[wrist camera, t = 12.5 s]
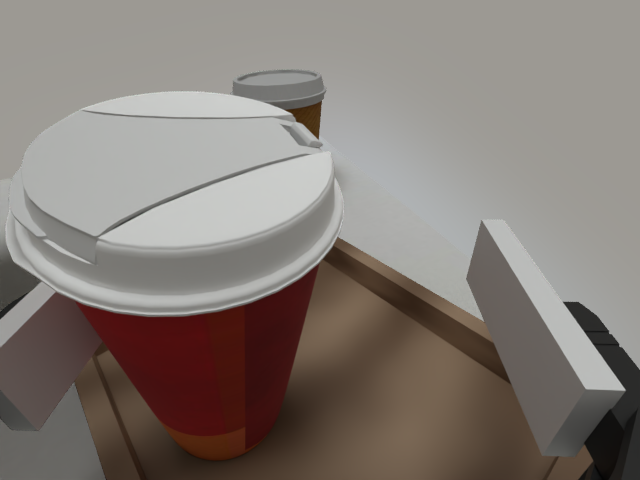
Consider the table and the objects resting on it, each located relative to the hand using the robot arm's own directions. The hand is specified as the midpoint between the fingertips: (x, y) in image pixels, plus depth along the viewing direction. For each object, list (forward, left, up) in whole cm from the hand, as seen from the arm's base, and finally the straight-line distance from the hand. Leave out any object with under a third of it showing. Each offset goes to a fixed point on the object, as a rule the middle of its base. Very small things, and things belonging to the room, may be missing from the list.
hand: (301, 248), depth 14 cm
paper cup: (-2, -4, -9) cm, 10 cm away
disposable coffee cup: (-22, +15, -10) cm, 29 cm away
